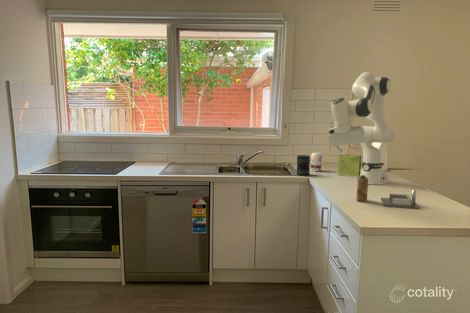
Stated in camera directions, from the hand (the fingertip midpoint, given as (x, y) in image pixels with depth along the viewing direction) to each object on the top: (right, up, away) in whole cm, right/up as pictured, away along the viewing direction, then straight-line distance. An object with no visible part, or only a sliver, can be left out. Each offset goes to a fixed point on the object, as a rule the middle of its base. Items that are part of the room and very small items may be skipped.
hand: (348, 151), depth 177 cm
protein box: (+25, -17, +68) cm, 75 cm away
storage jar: (-11, -17, +69) cm, 72 cm away
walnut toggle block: (+6, -27, -2) cm, 28 cm away
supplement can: (+3, -15, +84) cm, 85 cm away
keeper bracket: (+24, -28, -8) cm, 38 cm away
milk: (+56, -14, +89) cm, 106 cm away
